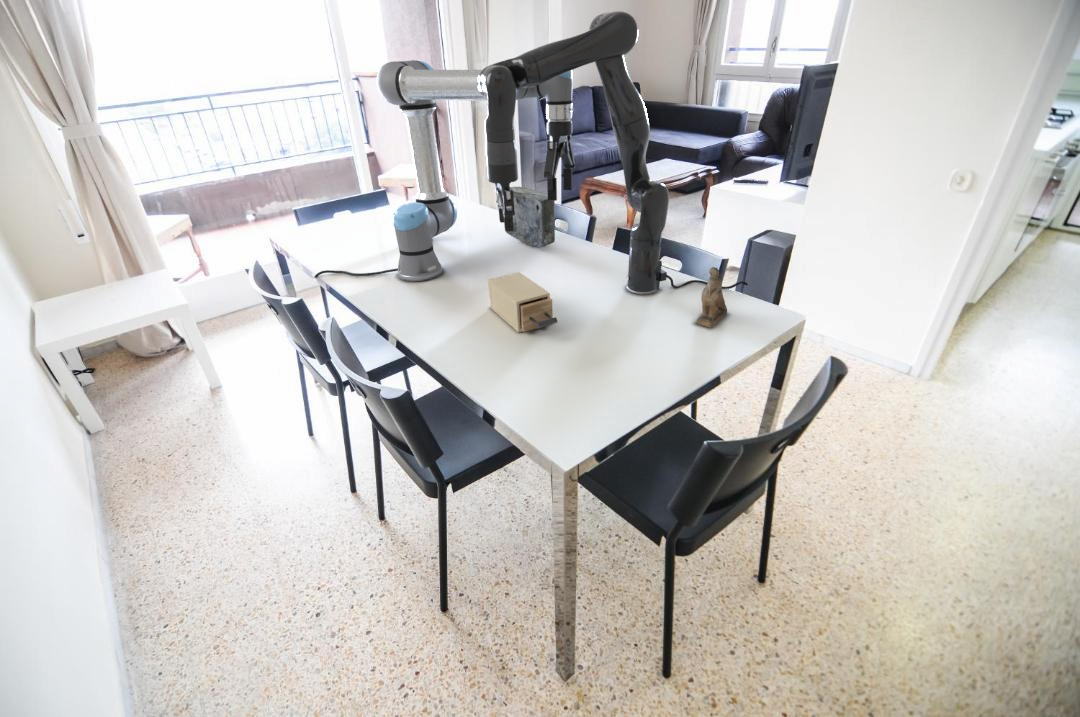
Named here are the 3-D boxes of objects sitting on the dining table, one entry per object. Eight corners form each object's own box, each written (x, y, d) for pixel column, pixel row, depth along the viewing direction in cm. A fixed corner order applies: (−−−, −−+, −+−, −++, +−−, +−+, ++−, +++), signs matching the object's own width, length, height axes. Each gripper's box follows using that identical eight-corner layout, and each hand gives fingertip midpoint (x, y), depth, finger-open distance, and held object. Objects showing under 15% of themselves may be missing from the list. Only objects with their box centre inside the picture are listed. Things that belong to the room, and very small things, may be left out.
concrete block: (560, 248, 193) (559, 196, 183) (541, 254, 189) (540, 200, 178) (521, 233, 212) (519, 184, 201) (504, 237, 207) (500, 188, 197)
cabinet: (550, 323, 141) (549, 293, 136) (518, 332, 137) (516, 301, 132) (521, 300, 154) (519, 272, 150) (490, 308, 150) (488, 279, 145)
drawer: (563, 331, 134) (562, 307, 130) (533, 340, 130) (532, 315, 127) (524, 301, 151) (522, 278, 147) (497, 308, 148) (494, 285, 144)
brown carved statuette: (709, 335, 136) (713, 280, 124) (691, 329, 139) (693, 274, 128) (730, 313, 142) (736, 258, 130) (712, 307, 145) (716, 253, 133)
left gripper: (555, 125, 134) (557, 205, 145) (585, 115, 153) (584, 186, 164) (530, 125, 136) (533, 203, 147) (562, 115, 156) (563, 185, 167)
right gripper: (522, 164, 115) (526, 233, 124) (511, 154, 127) (515, 217, 136) (490, 167, 114) (496, 236, 123) (482, 156, 126) (488, 220, 135)
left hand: (560, 194), depth 156 cm, fingers open, 13 cm apart
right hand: (506, 226), depth 129 cm, fingers open, 8 cm apart
